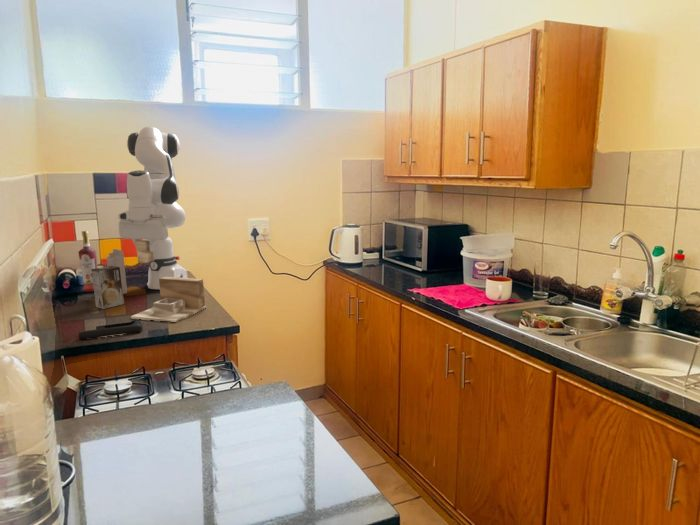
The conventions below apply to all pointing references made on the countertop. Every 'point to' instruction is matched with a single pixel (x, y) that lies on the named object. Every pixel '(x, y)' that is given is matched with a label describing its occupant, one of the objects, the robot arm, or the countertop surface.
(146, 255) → the maple peg
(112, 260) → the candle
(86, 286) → the liquor
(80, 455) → the countertop surface
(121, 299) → the coffee box
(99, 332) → the door handle
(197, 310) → the wooden stand
